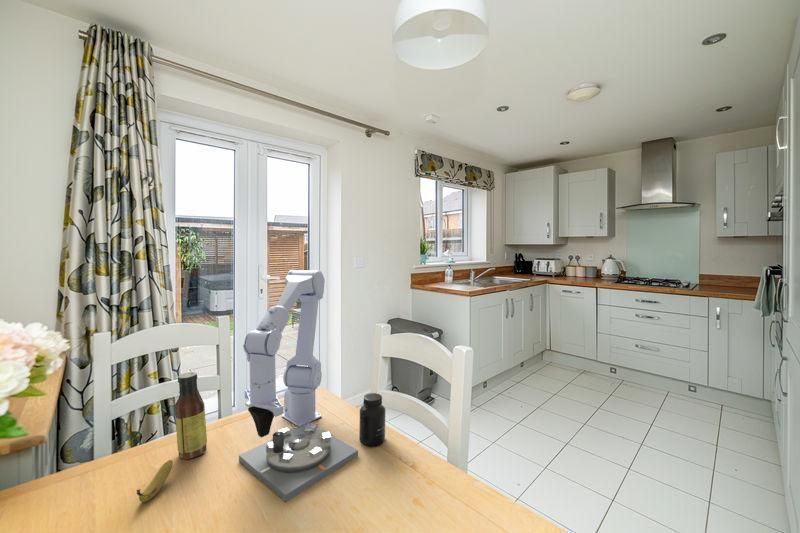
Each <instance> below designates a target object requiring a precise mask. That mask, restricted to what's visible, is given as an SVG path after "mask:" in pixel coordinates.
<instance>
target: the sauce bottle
mask: <svg viewBox="0 0 800 533" xmlns="http://www.w3.org/2000/svg"><path fill="white" fill-rule="evenodd" d="M197 380H198V373H197V372H196V371H190V372H184V373H181V374H179V375H178V376H177V382H178V385H179V386H178V387H179V392H178V393H179V396H178V399H177V401H176V402H175V404H174V409H175V415H174V416H175V428H176V429H175V430H176V431H175V432H176V442H177V451H178V457H179V458H181V459H184V460H190V459H195V458H197V457H199V456H201V455H202V454H204V453H205V452H206V451H207V446H208V445H207V444H208V436H207V435H208V434H207V422H206V410H205V409H206V407H205V402H204V401H203V398H202V396H201V393H200V392H199V389H198V381H197Z"/></svg>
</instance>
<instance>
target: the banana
mask: <svg viewBox="0 0 800 533" xmlns="http://www.w3.org/2000/svg"><path fill="white" fill-rule="evenodd" d="M173 466H174V462H173V459H168V460H166V461H165V462H164V463H163V464H162V465H161V467H160V468H159V469H158V470H157V471H156V474H155V475H154V476H153V477H152V480H151V481H150V483H149V484H148V485H147V486H146V488H145V489H144V490H143V491H142V492H141V488H139V489H136V490H135V491H136V495H137V496H138V500H139V501H140V502H141V503H146V502H149V501H150V500H151V499H153V498H154V497H155V496H156V495H157V494H158V492H159V491H160V490H161V489H162V487H163V486H164V484H165V482H166V480H167V479H168V477H169V476H170V474H171V471H172V469H173Z"/></svg>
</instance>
